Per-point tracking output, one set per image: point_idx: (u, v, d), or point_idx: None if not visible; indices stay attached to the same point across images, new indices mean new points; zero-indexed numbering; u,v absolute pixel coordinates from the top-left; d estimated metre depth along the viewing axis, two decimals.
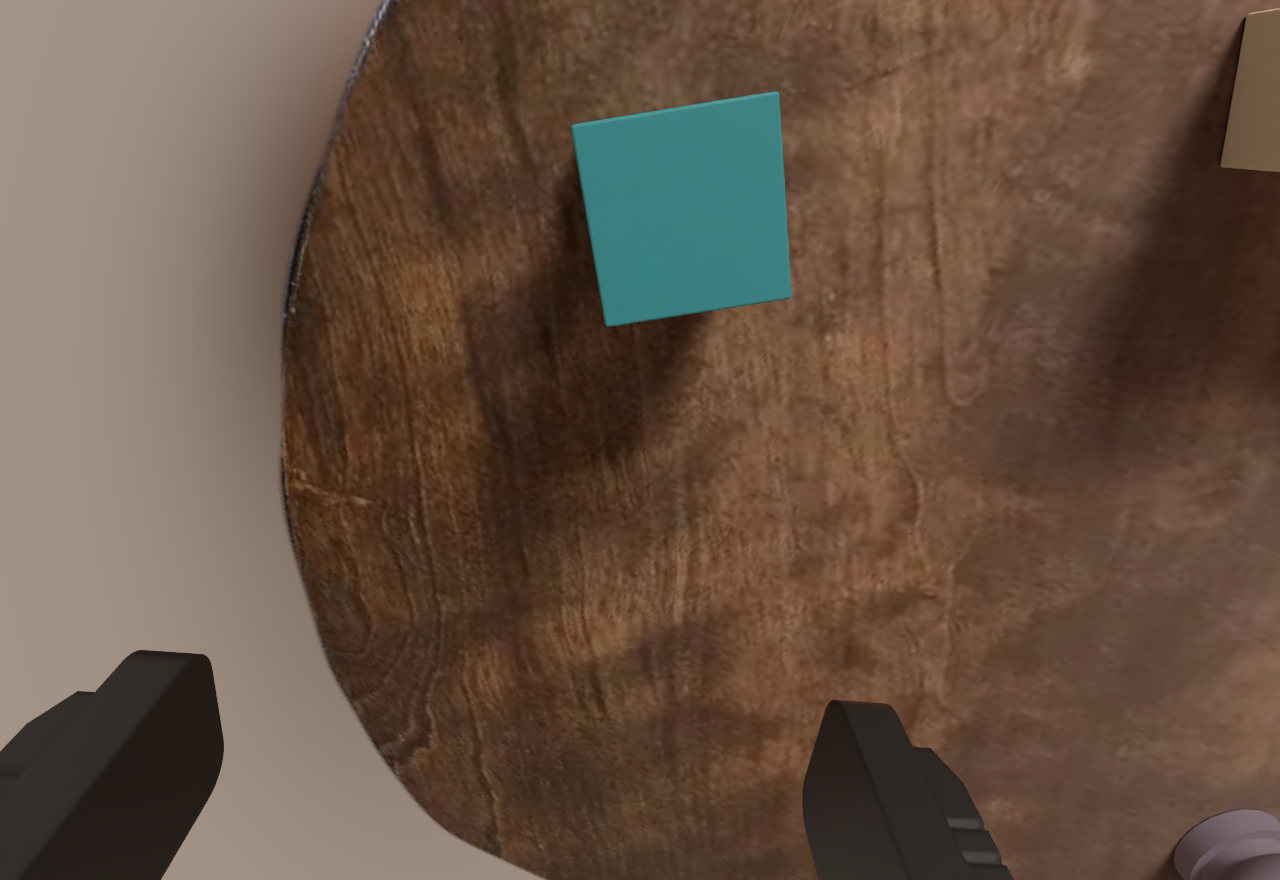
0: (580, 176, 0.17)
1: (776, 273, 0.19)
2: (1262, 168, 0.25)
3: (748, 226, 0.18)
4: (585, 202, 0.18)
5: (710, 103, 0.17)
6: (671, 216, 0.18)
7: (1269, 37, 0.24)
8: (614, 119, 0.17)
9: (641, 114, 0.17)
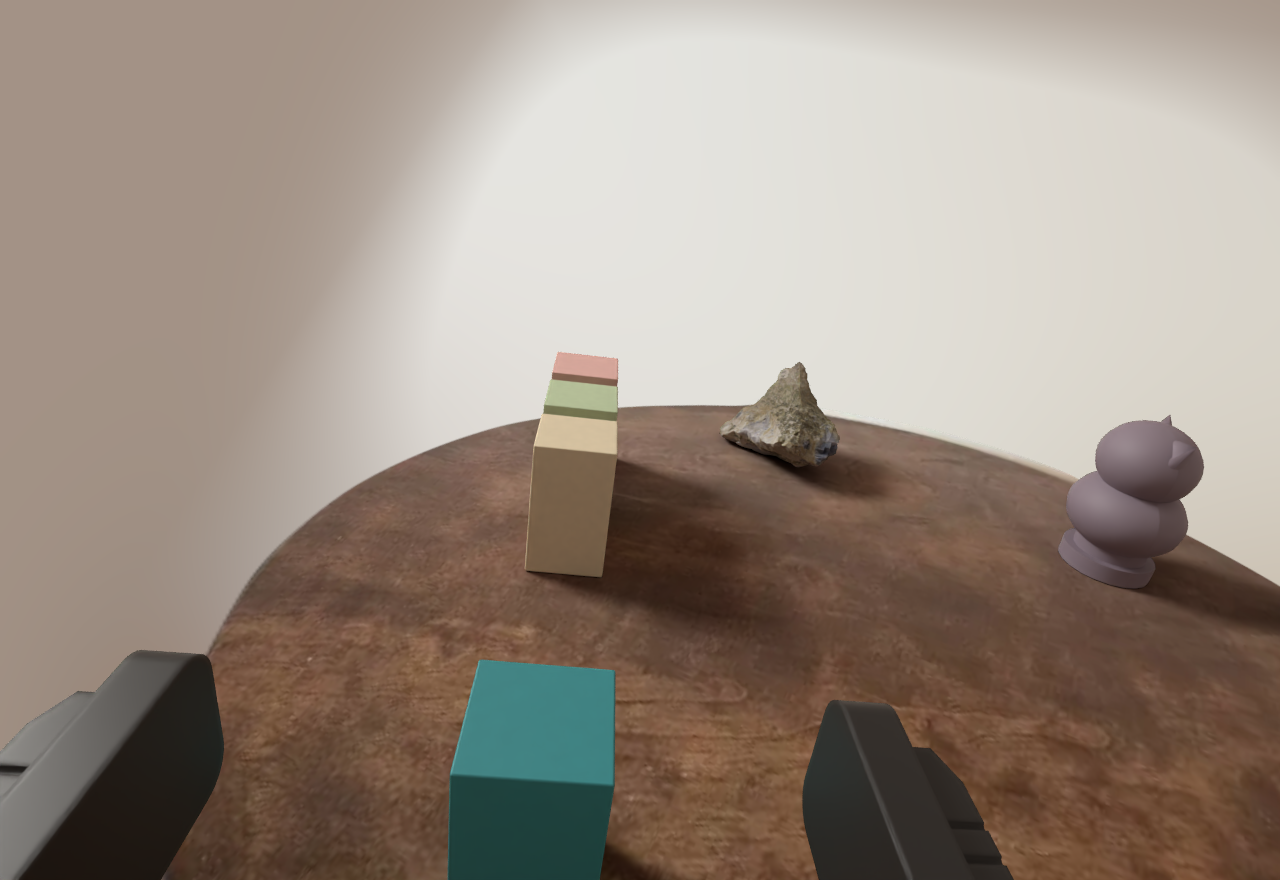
0: (488, 777, 0.22)
1: (595, 675, 0.26)
2: (603, 553, 0.46)
3: (558, 684, 0.25)
4: (509, 777, 0.22)
5: (471, 692, 0.25)
6: (538, 725, 0.24)
7: (538, 556, 0.46)
8: (457, 747, 0.22)
9: (461, 731, 0.23)
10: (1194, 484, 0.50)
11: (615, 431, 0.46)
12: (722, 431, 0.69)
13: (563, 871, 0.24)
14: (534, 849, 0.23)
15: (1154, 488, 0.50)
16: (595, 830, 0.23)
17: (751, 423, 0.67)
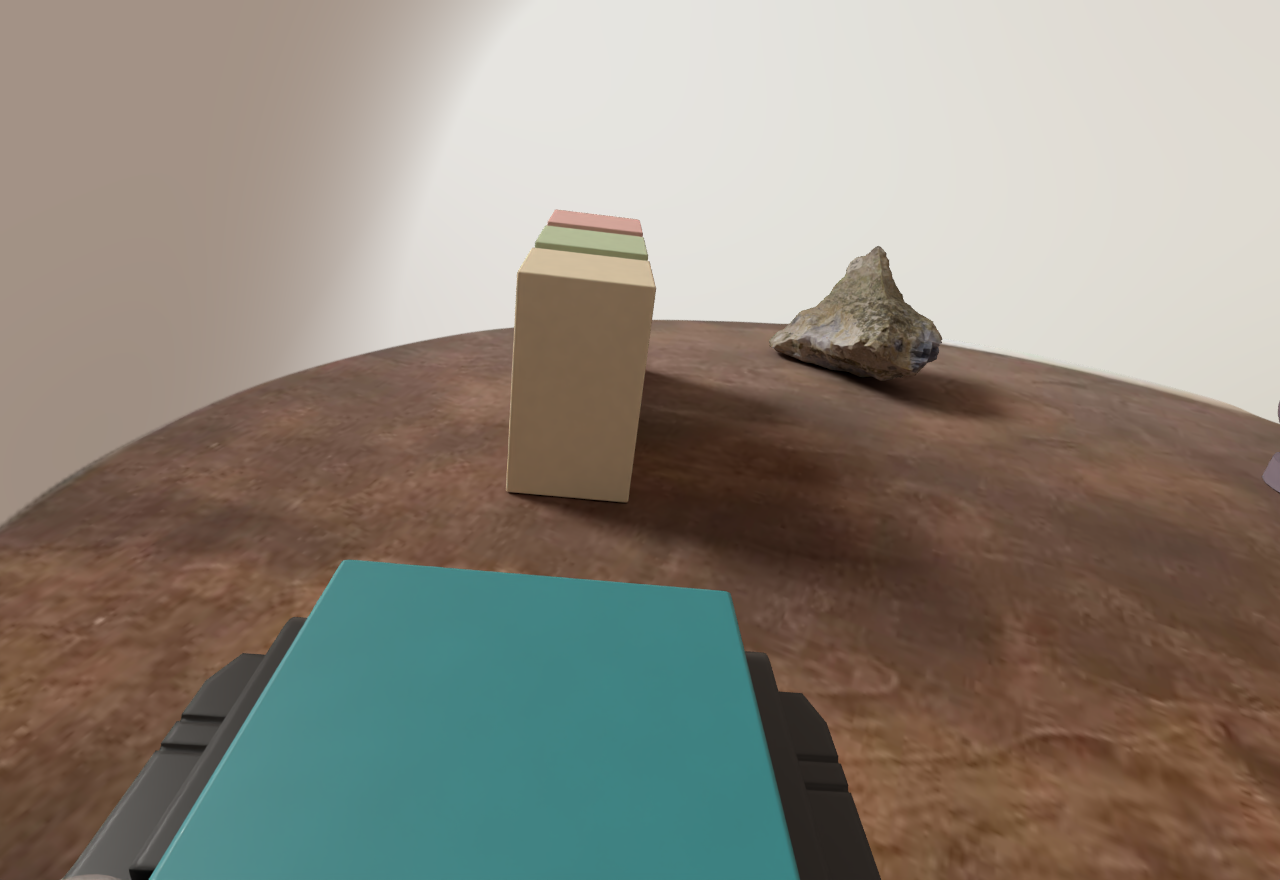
0: None
1: (679, 602, 0.09)
2: (631, 461, 0.29)
3: (573, 627, 0.08)
4: None
5: None
6: (506, 755, 0.07)
7: (527, 468, 0.29)
8: (168, 852, 0.05)
9: (211, 782, 0.06)
10: None
11: (648, 268, 0.29)
12: (773, 342, 0.52)
13: None
14: None
15: None
16: None
17: (815, 328, 0.50)
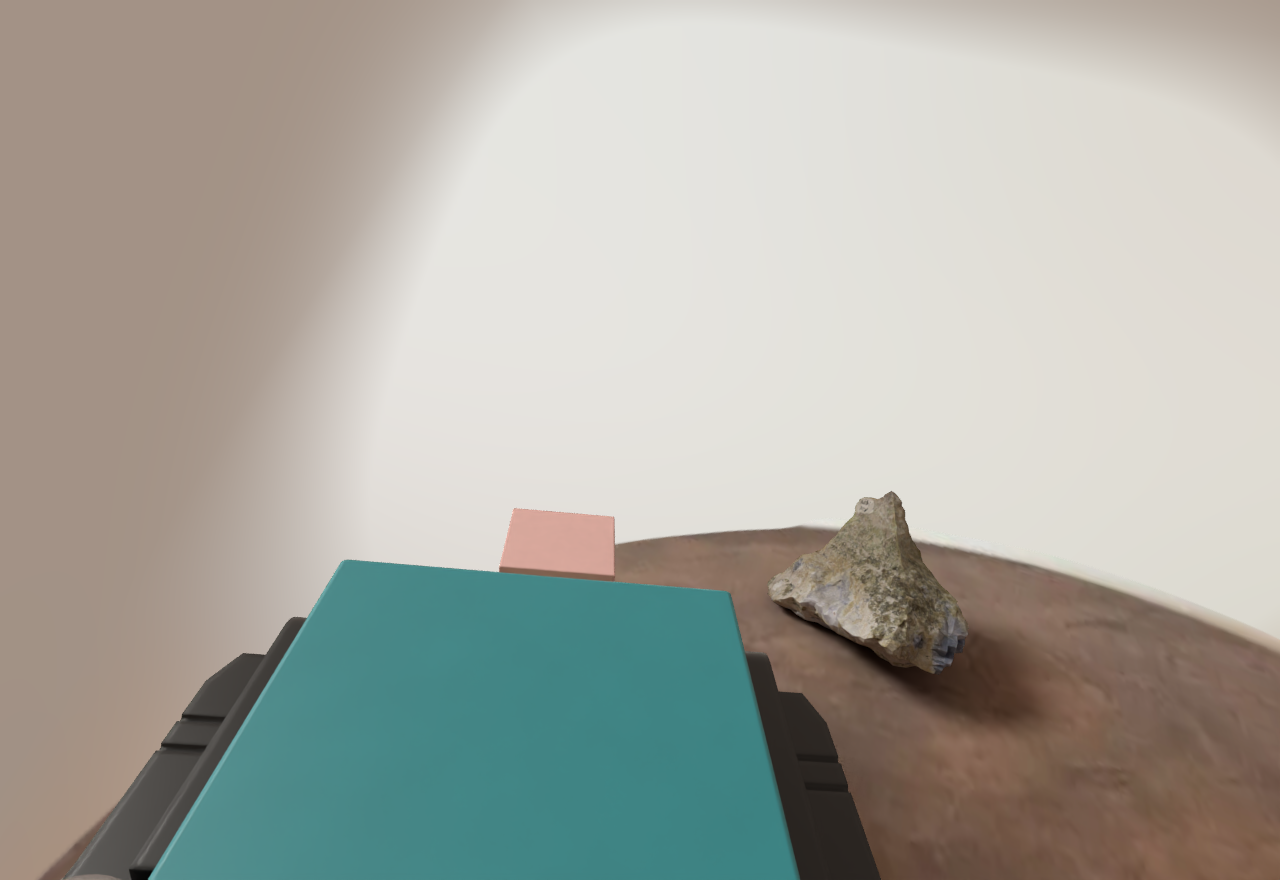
0: None
1: (679, 602, 0.09)
2: None
3: (572, 626, 0.08)
4: None
5: (290, 645, 0.08)
6: (505, 755, 0.07)
7: None
8: (167, 853, 0.05)
9: (210, 782, 0.06)
10: None
11: None
12: (772, 591, 0.46)
13: None
14: None
15: None
16: None
17: (820, 588, 0.43)
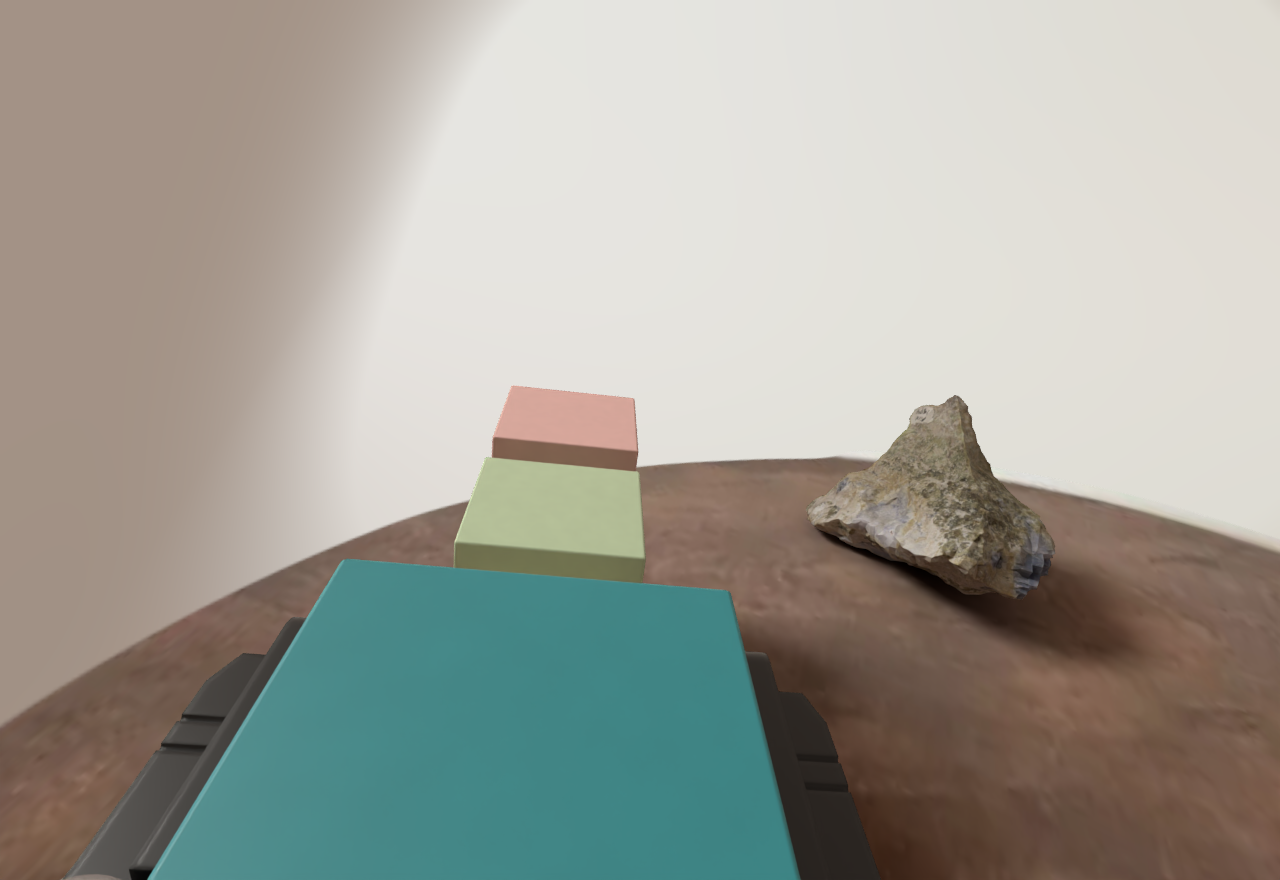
0: None
1: (679, 601, 0.09)
2: None
3: (572, 625, 0.08)
4: None
5: None
6: (504, 754, 0.07)
7: None
8: (167, 852, 0.05)
9: (210, 781, 0.06)
10: None
11: None
12: (812, 516, 0.39)
13: None
14: None
15: None
16: None
17: (872, 507, 0.37)
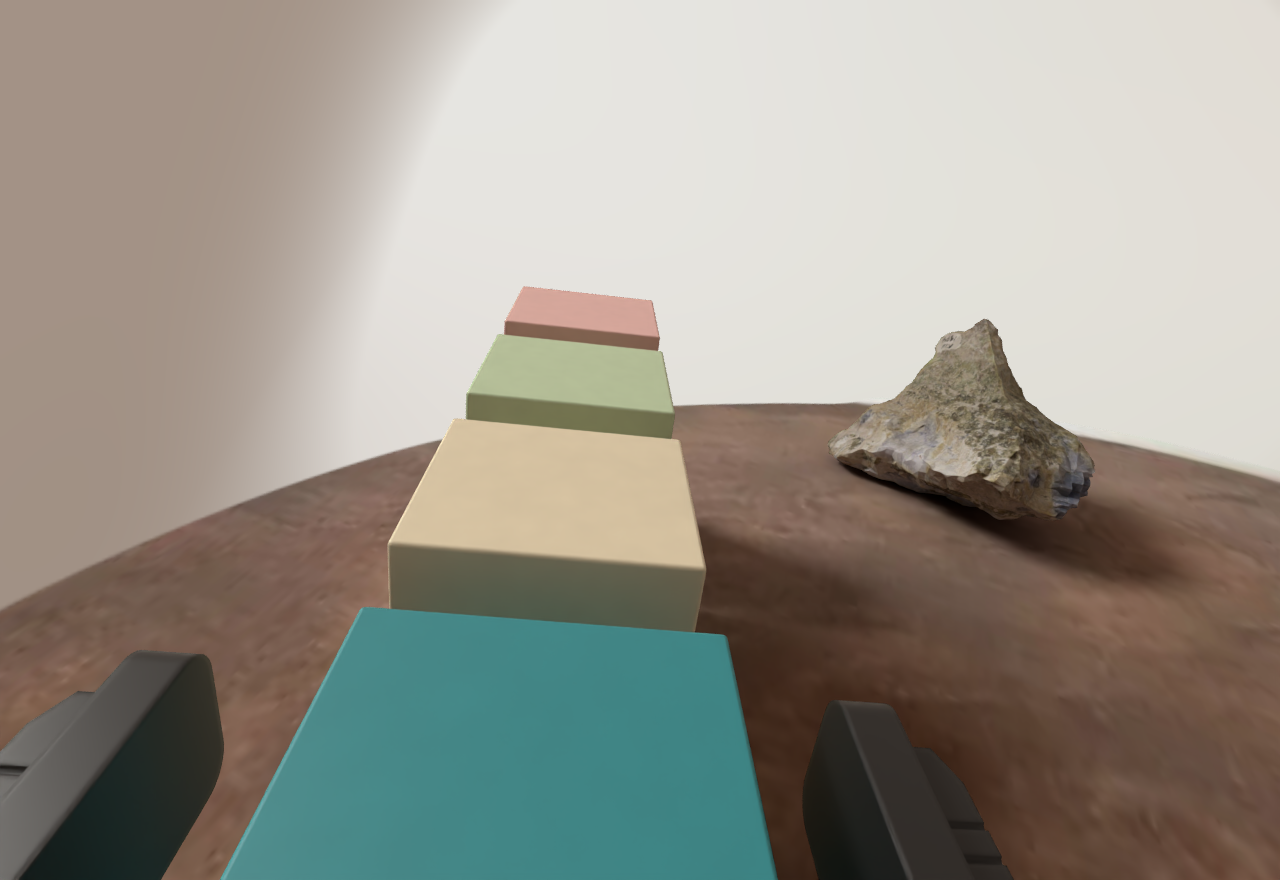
0: None
1: (678, 647, 0.10)
2: None
3: (577, 672, 0.09)
4: None
5: None
6: (515, 803, 0.07)
7: None
8: None
9: (247, 832, 0.07)
10: None
11: (681, 473, 0.14)
12: (835, 449, 0.38)
13: None
14: None
15: None
16: None
17: (898, 435, 0.35)
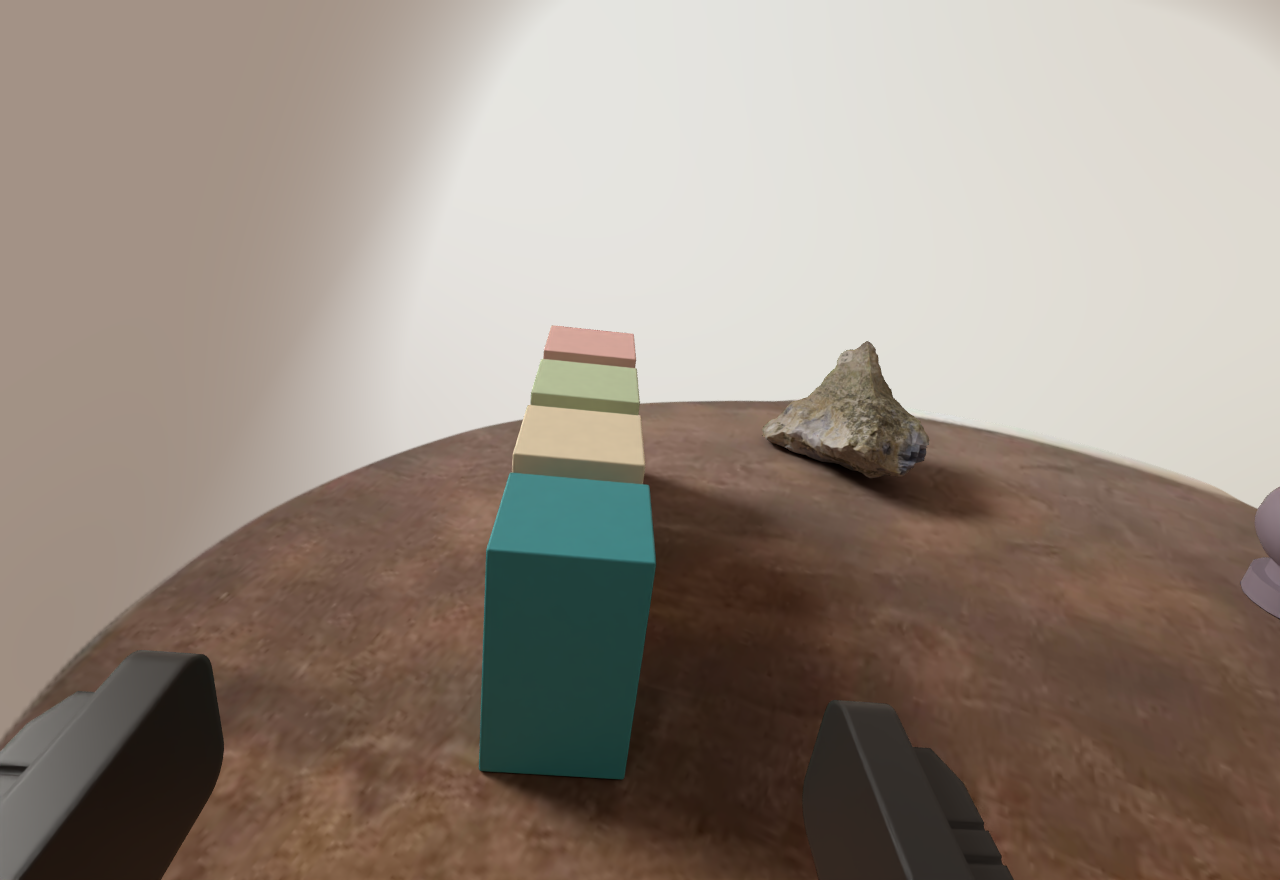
0: (526, 553, 0.21)
1: (629, 487, 0.25)
2: None
3: (592, 492, 0.25)
4: (547, 553, 0.21)
5: (503, 494, 0.24)
6: (573, 519, 0.23)
7: None
8: (492, 531, 0.22)
9: (495, 521, 0.22)
10: None
11: (639, 430, 0.30)
12: (766, 432, 0.53)
13: (601, 669, 0.23)
14: (572, 641, 0.22)
15: None
16: (635, 619, 0.22)
17: (806, 422, 0.51)
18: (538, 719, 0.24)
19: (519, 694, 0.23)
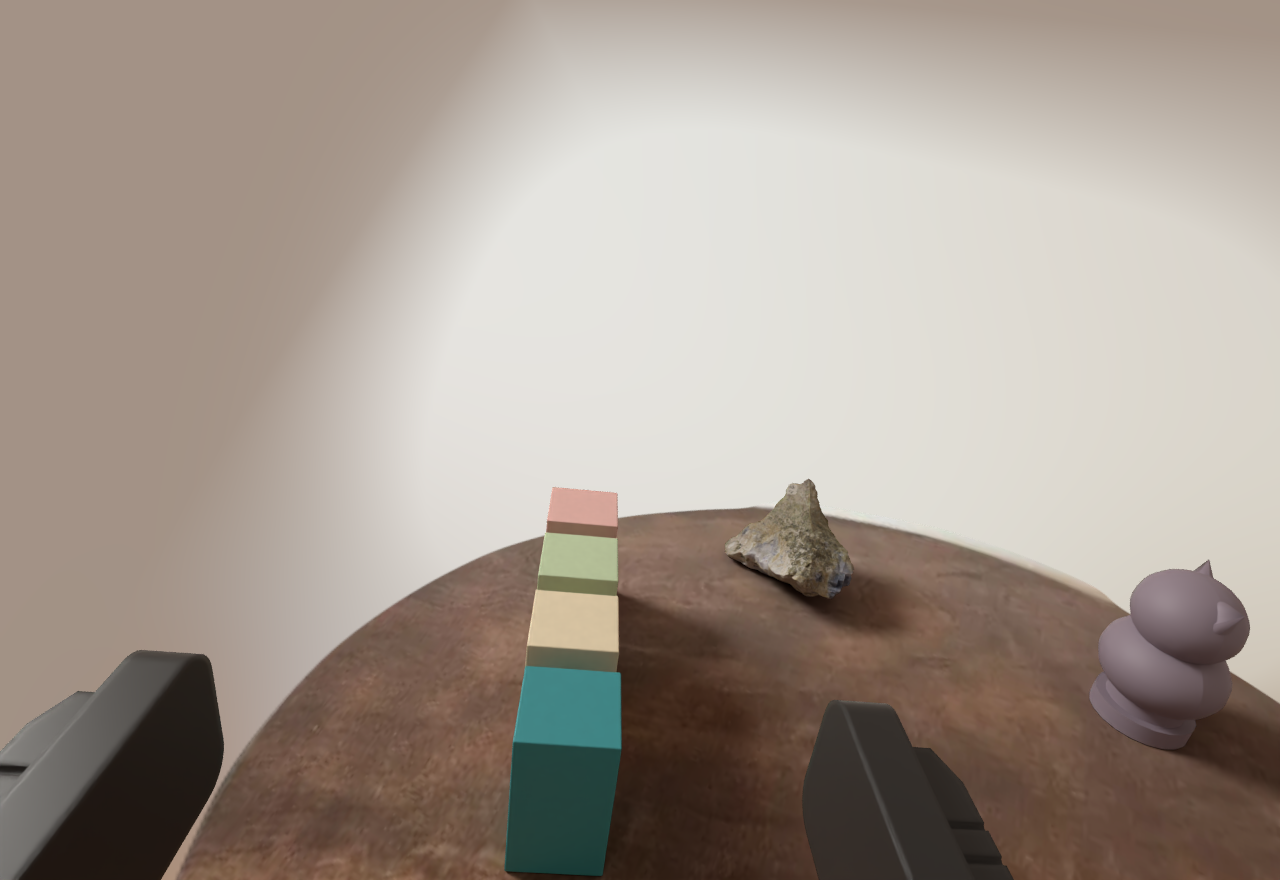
0: (538, 743, 0.33)
1: (607, 676, 0.37)
2: None
3: (581, 683, 0.36)
4: (552, 744, 0.33)
5: (522, 688, 0.36)
6: (569, 710, 0.35)
7: None
8: (516, 724, 0.34)
9: (517, 714, 0.34)
10: (1240, 648, 0.47)
11: (616, 613, 0.42)
12: (727, 549, 0.65)
13: (587, 809, 0.35)
14: (567, 793, 0.34)
15: (1197, 653, 0.46)
16: (609, 780, 0.34)
17: (759, 545, 0.63)
18: (545, 839, 0.35)
19: (532, 824, 0.35)
